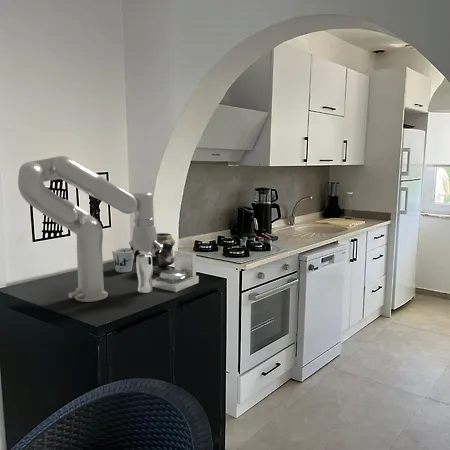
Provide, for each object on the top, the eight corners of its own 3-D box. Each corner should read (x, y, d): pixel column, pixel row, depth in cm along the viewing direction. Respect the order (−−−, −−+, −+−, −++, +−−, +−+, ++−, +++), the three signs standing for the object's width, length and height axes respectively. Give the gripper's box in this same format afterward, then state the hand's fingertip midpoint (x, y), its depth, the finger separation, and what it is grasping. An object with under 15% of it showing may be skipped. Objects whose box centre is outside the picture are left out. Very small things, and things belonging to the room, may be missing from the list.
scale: (176, 291, 190) (176, 261, 187) (152, 286, 196) (151, 256, 194) (198, 282, 203) (198, 253, 201) (175, 277, 210) (175, 250, 208)
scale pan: (174, 281, 190) (174, 278, 190) (154, 276, 196) (154, 274, 195) (192, 274, 200) (192, 271, 200) (172, 270, 206) (172, 267, 206)
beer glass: (141, 294, 186) (141, 258, 183) (133, 290, 191) (132, 255, 189) (156, 291, 190) (156, 255, 188) (148, 287, 196) (147, 252, 193)
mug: (109, 273, 216) (109, 252, 215) (118, 265, 231) (117, 245, 229) (132, 273, 216) (131, 252, 214) (139, 265, 231) (138, 246, 229)
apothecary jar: (180, 269, 224) (179, 233, 221) (165, 275, 213) (165, 237, 210) (159, 266, 229) (159, 231, 226) (144, 272, 219) (144, 235, 216)
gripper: (122, 222, 187) (124, 263, 190) (154, 226, 178) (156, 268, 181) (135, 219, 194) (137, 259, 197) (167, 223, 185) (168, 264, 188)
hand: (146, 263), depth 189 cm, fingers open, 9 cm apart
